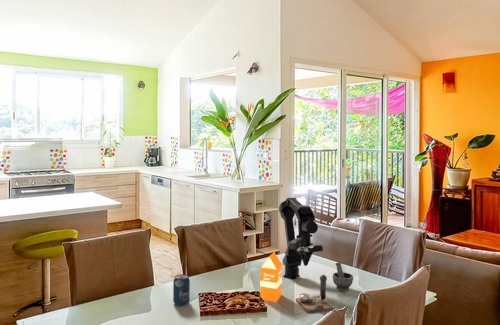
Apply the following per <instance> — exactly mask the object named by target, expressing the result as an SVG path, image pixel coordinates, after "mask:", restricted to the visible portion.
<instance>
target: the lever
mask: <svg viewBox="0 0 500 325" xmlns="http://www.w3.org/2000/svg"><path fill="white" fill-rule="evenodd" d="M327 280H328V278H327V275H325V274H321V275H320V276H319V281H320V285H319V296H320V298H309V297H310V294H308V293H299V298H300V302H303V303H307V302H313V300H315V301H316V300H317V299H321V300H322V302H323V300H325V301H326V298H327V297H326V295H327V294H326V291H327Z"/></svg>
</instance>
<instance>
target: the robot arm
mask: <svg viewBox="0 0 500 325" xmlns="http://www.w3.org/2000/svg"><path fill="white" fill-rule="evenodd" d="M278 207H279V208H278V213H280V218H281V219H282V220H283V222H284V229H285V231H284V232H285V237H286V250H285V251H284V256H283V259H282V266H284V274H283V276H282V278H286V279H291V280H296V279H297V278H299V277H300V268H299V267H300V266H302V264H303V266H305V267H306V266H308V265H309V262H310V260H311V258H312V255H313V253H317V252H324V249H323V246H322V245H321V244H313V243H312V240H311V238H312V237H313V234H316V232H318V229H319V227H318V226H319V225H318V224H317V222H316V219H315V218H316V216H315V213H314V212H313V209H312V207H311V206H309V205H305V204H302V203H301V202H300V201H298V200H297V198H295V197H287V198H285V200H284V201H281V202H280V205H279V206H278ZM294 218H296V219H297V228H298V229H297V230H298V234H295V226H294Z"/></svg>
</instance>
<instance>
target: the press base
mask: <svg viewBox="0 0 500 325" xmlns="http://www.w3.org/2000/svg"><path fill="white" fill-rule="evenodd" d="M309 298H320V295H318V296H309ZM295 302H296V304H298V306H299V307H300V308H301V309H303V311H304V312H306V313H307V314H312V313H321V312H323V313H324V312H330V311H331V310H332V311H334V307H333V305H331V304H330V303H329V302H328V301H327V300H326V299H325V300H323V302H322V300H321V299H317V300H316V301H315V300H313V302H307V303H303V302H300V297H299V298H295Z"/></svg>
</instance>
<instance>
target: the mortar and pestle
mask: <svg viewBox="0 0 500 325" xmlns="http://www.w3.org/2000/svg"><path fill="white" fill-rule="evenodd" d="M335 266H336V272H334V273H333V274H332V281H333V283H334V285H335V286H336V288H335V289H336V290H337V291H338V292H341V293H342V292H345V293H346V292H349V290H350V287H351V286H352V284H353V281H354V274H352V273H349V272H344V270H343V268H342V262H341V261H340V262H338V261H337V262H336V263H335Z"/></svg>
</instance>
